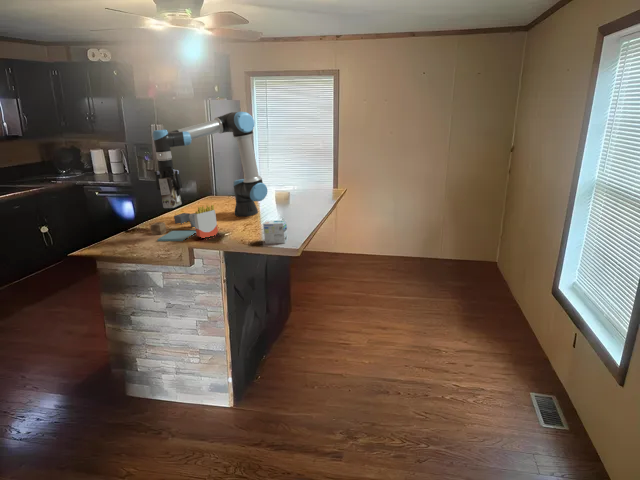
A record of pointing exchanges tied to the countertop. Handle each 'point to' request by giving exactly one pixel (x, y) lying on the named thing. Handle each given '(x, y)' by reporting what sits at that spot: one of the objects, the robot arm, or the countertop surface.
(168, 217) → the countertop surface
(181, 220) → the charcoal box
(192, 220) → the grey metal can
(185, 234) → the pad
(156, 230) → the walnut block
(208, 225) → the french fries container
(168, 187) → the coffee box
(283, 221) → the light bulb box
